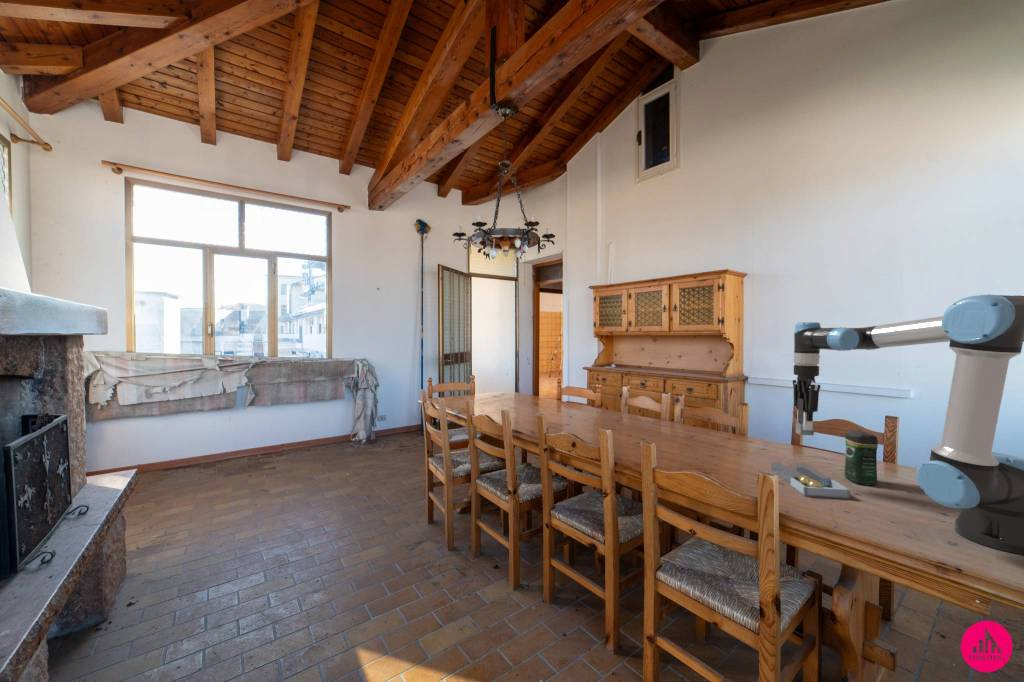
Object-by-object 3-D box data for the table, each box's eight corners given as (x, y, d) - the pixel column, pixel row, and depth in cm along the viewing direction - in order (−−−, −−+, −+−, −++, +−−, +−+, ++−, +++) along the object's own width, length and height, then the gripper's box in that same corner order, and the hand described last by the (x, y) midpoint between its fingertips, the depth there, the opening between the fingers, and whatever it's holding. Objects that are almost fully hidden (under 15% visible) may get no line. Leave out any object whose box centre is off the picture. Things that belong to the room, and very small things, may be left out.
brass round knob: (812, 480, 142) (817, 483, 139) (804, 488, 143) (809, 492, 140) (802, 472, 143) (806, 475, 140) (794, 481, 144) (798, 484, 141)
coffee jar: (881, 487, 144) (883, 435, 143) (856, 485, 145) (857, 434, 145) (864, 477, 153) (865, 428, 152) (840, 475, 155) (841, 427, 154)
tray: (849, 498, 134) (850, 489, 134) (804, 496, 136) (804, 487, 136) (832, 488, 142) (832, 479, 142) (790, 486, 145) (790, 477, 145)
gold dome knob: (810, 476, 139) (818, 480, 136) (818, 484, 139) (826, 487, 136) (803, 485, 139) (810, 488, 136) (811, 493, 139) (818, 496, 136)
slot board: (830, 488, 143) (830, 478, 142) (793, 486, 145) (793, 476, 144) (805, 472, 158) (805, 463, 158) (771, 470, 160) (771, 462, 160)
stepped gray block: (813, 435, 146) (814, 399, 145) (800, 434, 146) (801, 399, 146) (808, 433, 149) (809, 398, 148) (795, 432, 150) (796, 397, 149)
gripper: (831, 366, 138) (830, 434, 139) (804, 362, 154) (803, 423, 155) (807, 366, 139) (806, 433, 140) (783, 362, 155) (782, 422, 156)
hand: (804, 428), depth 148 cm, fingers closed on stepped gray block, 3 cm apart
